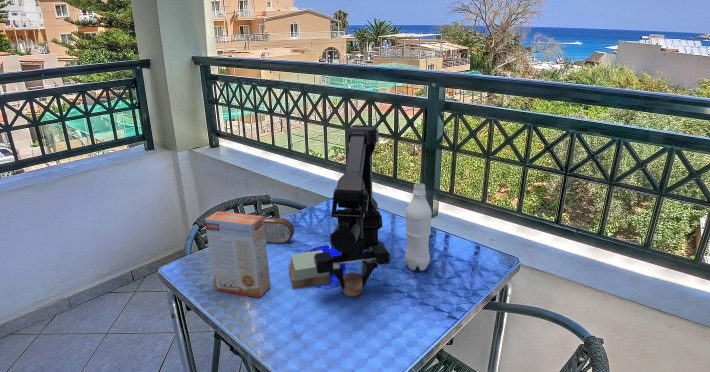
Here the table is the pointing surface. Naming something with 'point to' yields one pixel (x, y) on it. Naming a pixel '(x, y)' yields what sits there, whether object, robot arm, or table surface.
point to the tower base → (307, 280)
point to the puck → (352, 284)
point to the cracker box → (238, 253)
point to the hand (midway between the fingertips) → (352, 287)
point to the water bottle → (418, 229)
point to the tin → (278, 230)
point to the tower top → (305, 265)
